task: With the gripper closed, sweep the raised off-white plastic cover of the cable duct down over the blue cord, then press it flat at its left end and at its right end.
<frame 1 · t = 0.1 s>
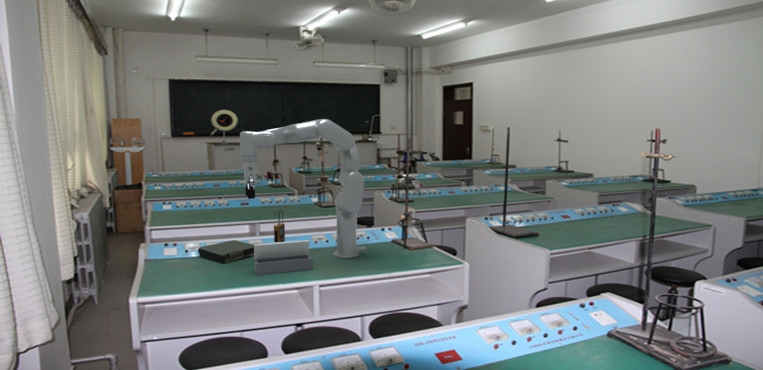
hand: (250, 197, 215), 31 cm above the table, tool pointing down, fingers open, 9 cm apart
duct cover: (282, 250, 212), point 8 cm above the table, hinge at 60.0°
cable duct: (283, 270, 210), on the table
multimeter: (286, 250, 244), on the table
network switch: (229, 256, 234), on the table
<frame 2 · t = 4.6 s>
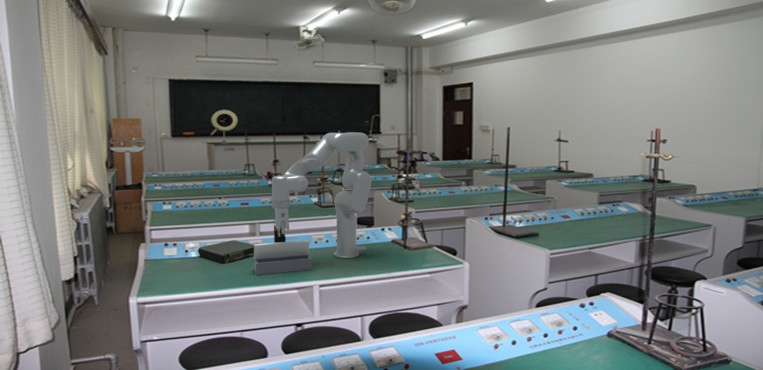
hand: (281, 244, 212), 11 cm above the table, tool pointing down, fingers closed
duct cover: (282, 250, 212), point 8 cm above the table, hinge at 59.7°, touching gripper
everything else where it was.
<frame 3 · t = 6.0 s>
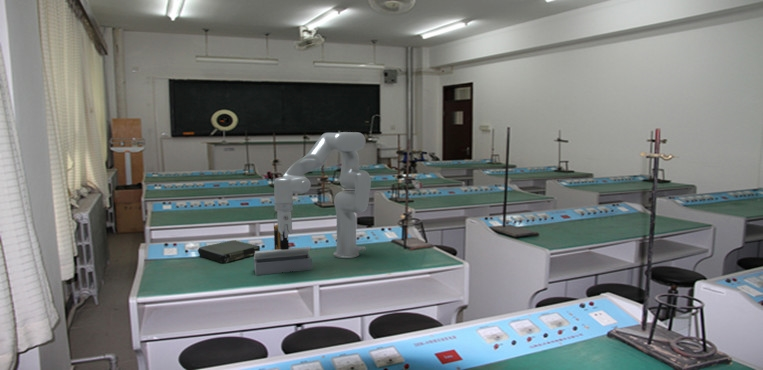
hand: (284, 249, 204), 11 cm above the table, tool pointing down, fingers closed
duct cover: (282, 253, 211), point 7 cm above the table, hinge at 32.3°
everything else where it was.
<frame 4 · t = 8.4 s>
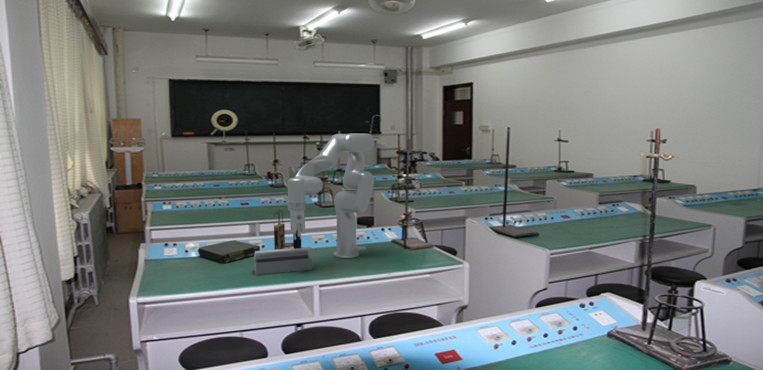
hand: (297, 247, 209), 10 cm above the table, tool pointing down, fingers closed
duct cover: (282, 253, 211), point 7 cm above the table, hinge at 32.3°, touching gripper
everything else where it was.
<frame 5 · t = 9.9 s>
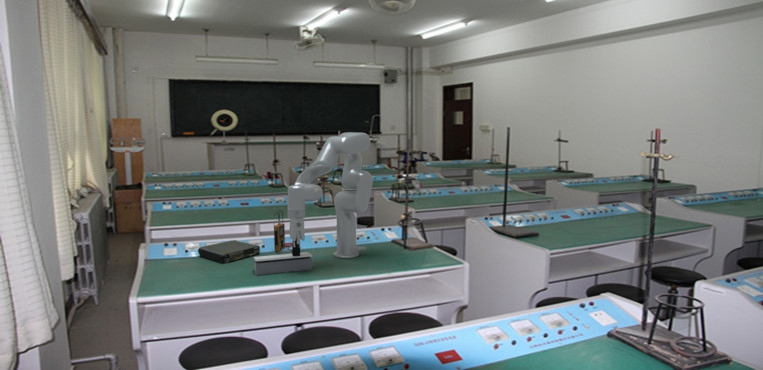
hand: (296, 255, 208), 7 cm above the table, tool pointing down, fingers closed
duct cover: (282, 256, 210), point 6 cm above the table, hinge at 6.9°, touching gripper
everything else where it was.
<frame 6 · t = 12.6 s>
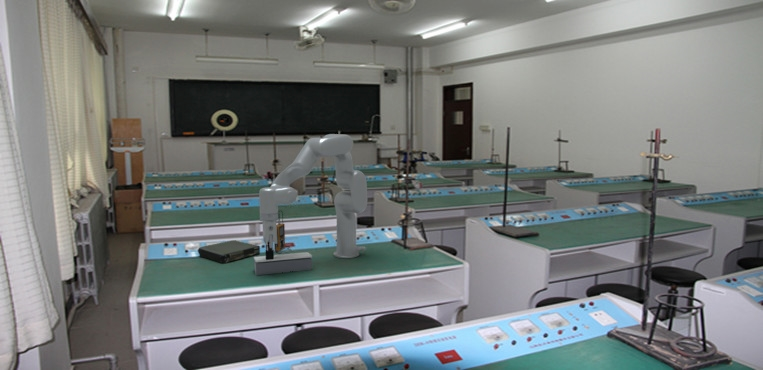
hand: (269, 259, 205), 6 cm above the table, tool pointing down, fingers closed
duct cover: (282, 257, 210), point 6 cm above the table, hinge at 4.1°, touching gripper
everything else where it was.
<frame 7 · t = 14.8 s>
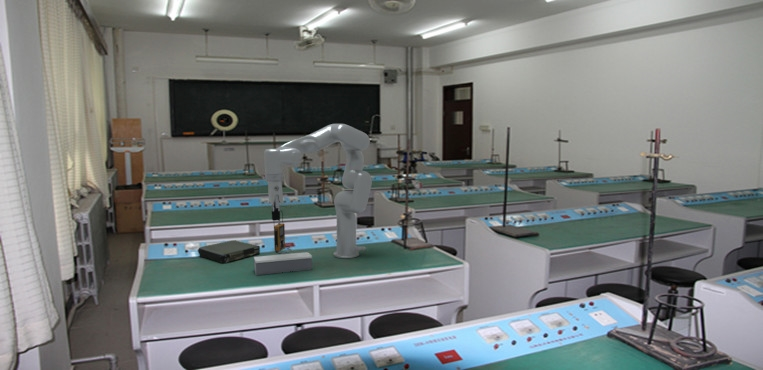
hand: (276, 219, 207), 23 cm above the table, tool pointing down, fingers closed
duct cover: (282, 257, 210), point 6 cm above the table, hinge at 1.8°
everything else where it was.
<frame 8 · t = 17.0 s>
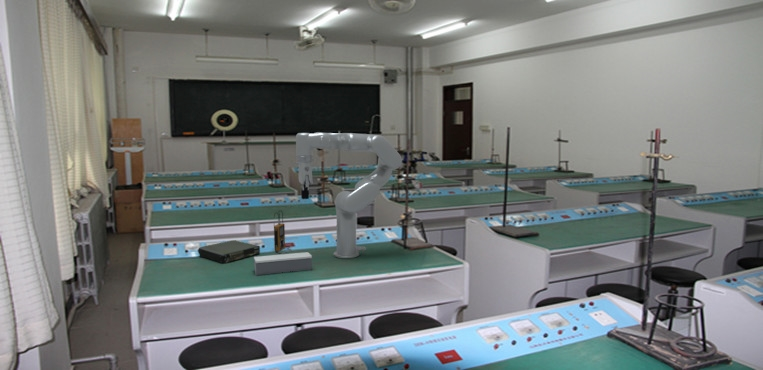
hand: (305, 198, 224), 29 cm above the table, tool pointing down, fingers closed
nothing on the table moved.
at the end: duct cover at +2° (first picture: +60°); multimeter moved 0.3 cm from its start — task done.
